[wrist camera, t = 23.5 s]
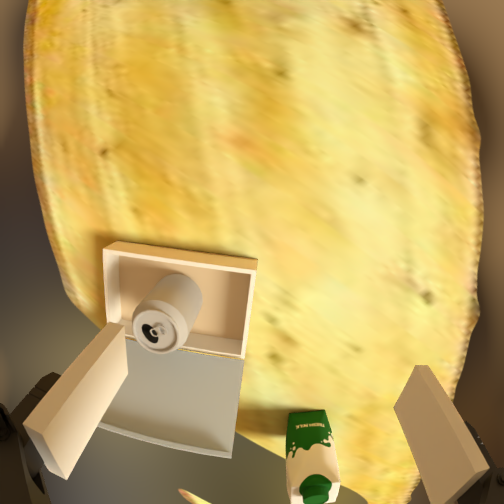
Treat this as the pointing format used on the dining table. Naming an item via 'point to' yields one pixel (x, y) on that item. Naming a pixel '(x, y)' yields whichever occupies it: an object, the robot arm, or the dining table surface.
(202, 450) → the lid
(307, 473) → the milk carton
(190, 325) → the can
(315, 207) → the dining table surface
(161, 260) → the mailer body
